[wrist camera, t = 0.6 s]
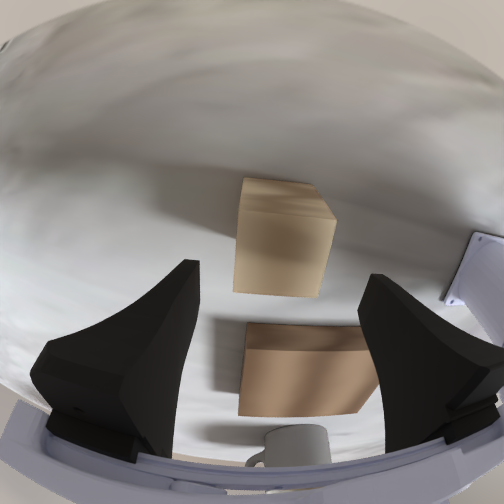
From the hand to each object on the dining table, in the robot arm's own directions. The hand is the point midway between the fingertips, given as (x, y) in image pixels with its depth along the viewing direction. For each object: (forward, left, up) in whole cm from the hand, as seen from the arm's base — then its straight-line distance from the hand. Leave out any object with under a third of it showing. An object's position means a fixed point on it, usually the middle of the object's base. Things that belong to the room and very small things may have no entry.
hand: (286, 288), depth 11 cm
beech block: (0, 0, -8) cm, 8 cm away
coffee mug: (-7, +36, -9) cm, 38 cm away
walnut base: (-6, +16, -8) cm, 19 cm away
